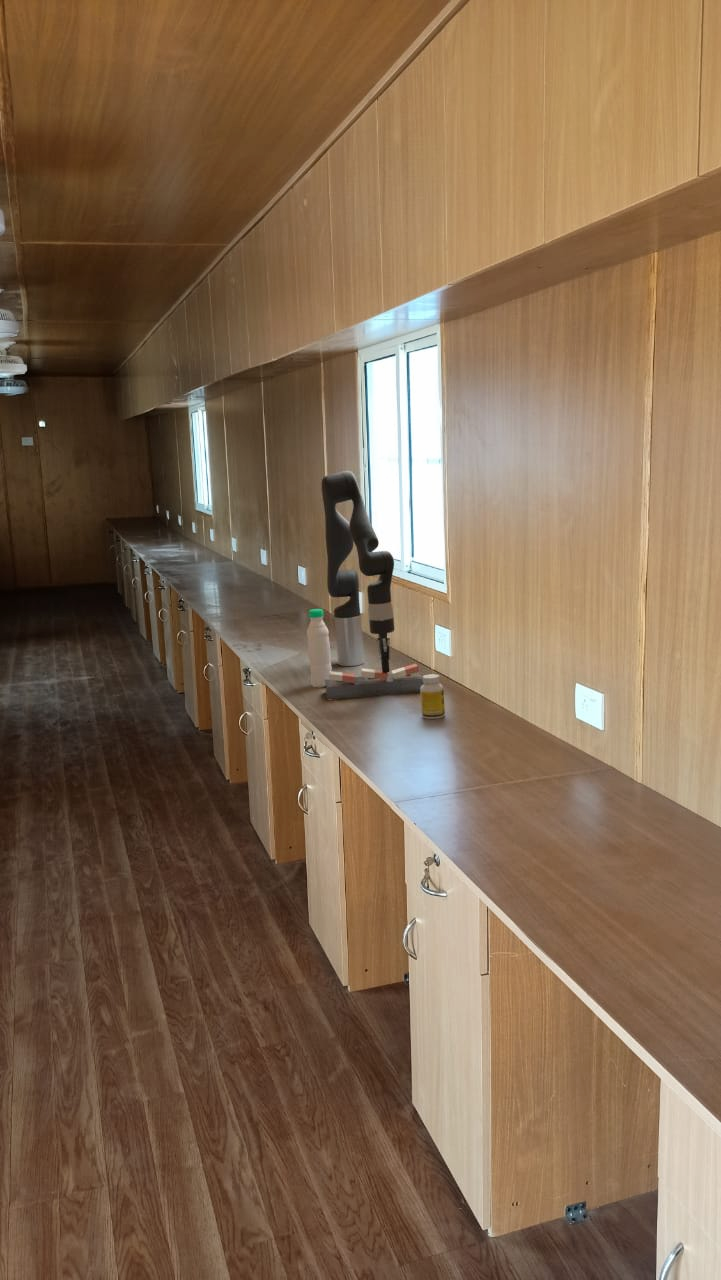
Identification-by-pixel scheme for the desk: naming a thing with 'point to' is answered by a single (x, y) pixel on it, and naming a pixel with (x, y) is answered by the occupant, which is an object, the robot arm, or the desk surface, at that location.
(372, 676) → the block
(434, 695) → the pill bottle
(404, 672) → the rocker
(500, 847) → the desk surface
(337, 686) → the power strip
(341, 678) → the rocker
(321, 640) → the water bottle
